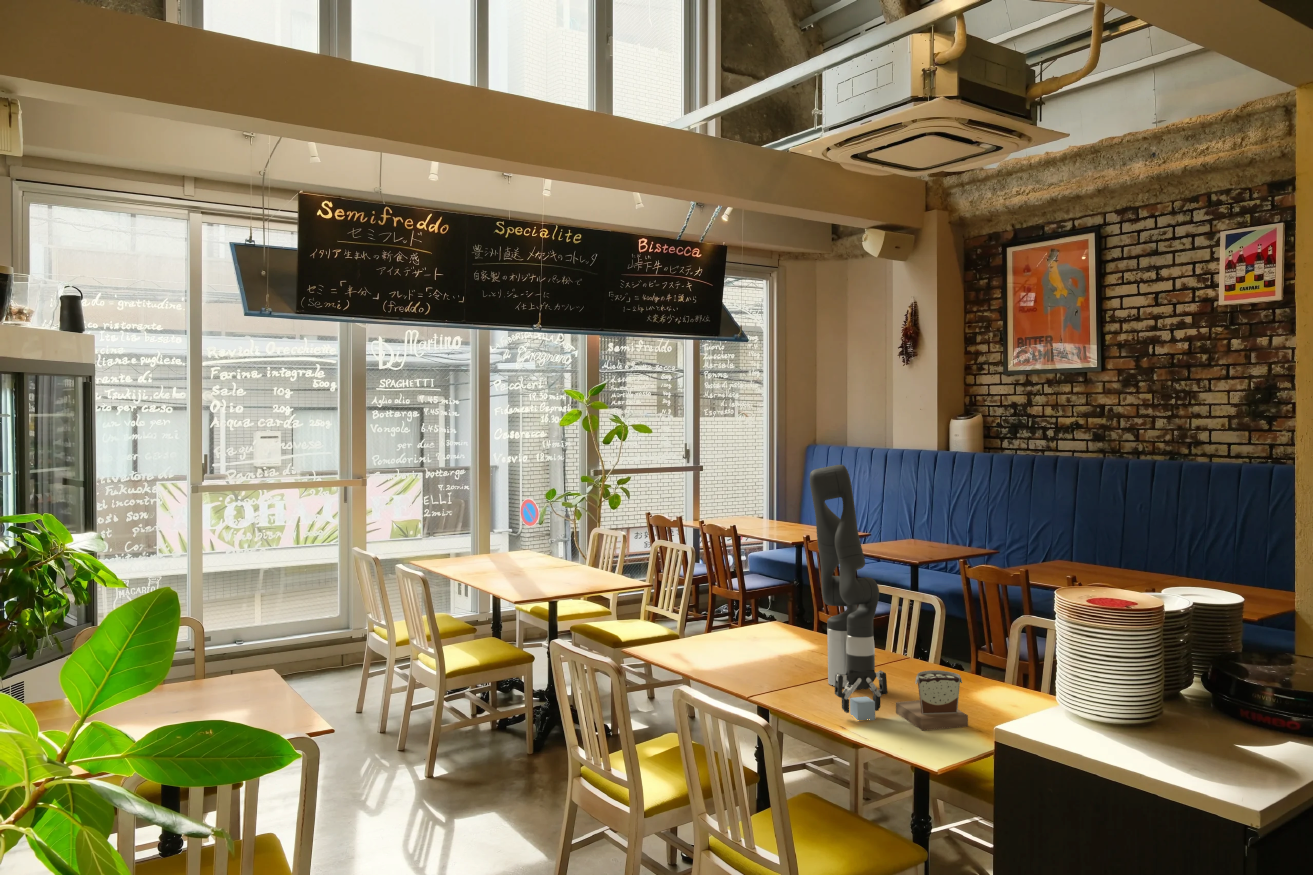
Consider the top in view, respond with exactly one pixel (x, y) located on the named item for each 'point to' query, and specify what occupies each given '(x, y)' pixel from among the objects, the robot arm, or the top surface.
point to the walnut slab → (930, 717)
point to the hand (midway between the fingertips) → (861, 711)
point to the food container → (938, 691)
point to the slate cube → (862, 708)
